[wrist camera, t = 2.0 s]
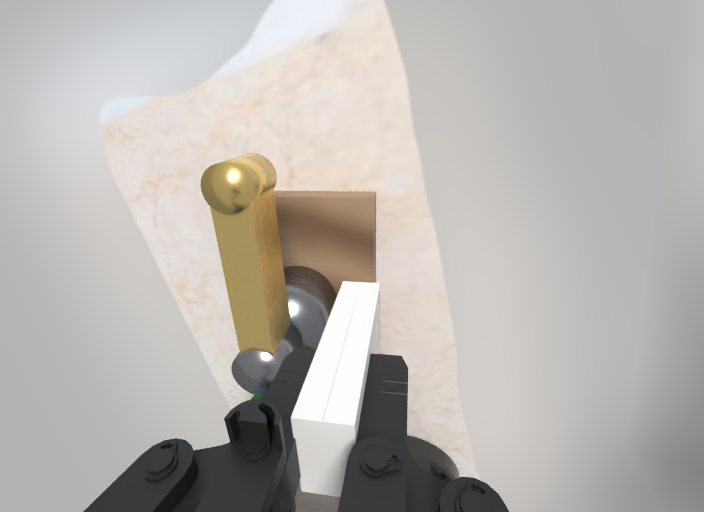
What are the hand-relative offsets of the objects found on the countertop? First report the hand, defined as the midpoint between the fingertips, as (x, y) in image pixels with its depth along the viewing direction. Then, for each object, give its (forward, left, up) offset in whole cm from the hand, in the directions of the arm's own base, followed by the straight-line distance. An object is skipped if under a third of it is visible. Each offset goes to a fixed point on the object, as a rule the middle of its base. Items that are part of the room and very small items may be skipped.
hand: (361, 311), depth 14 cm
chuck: (-12, +8, -16) cm, 21 cm away
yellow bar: (-3, +8, -9) cm, 13 cm away
